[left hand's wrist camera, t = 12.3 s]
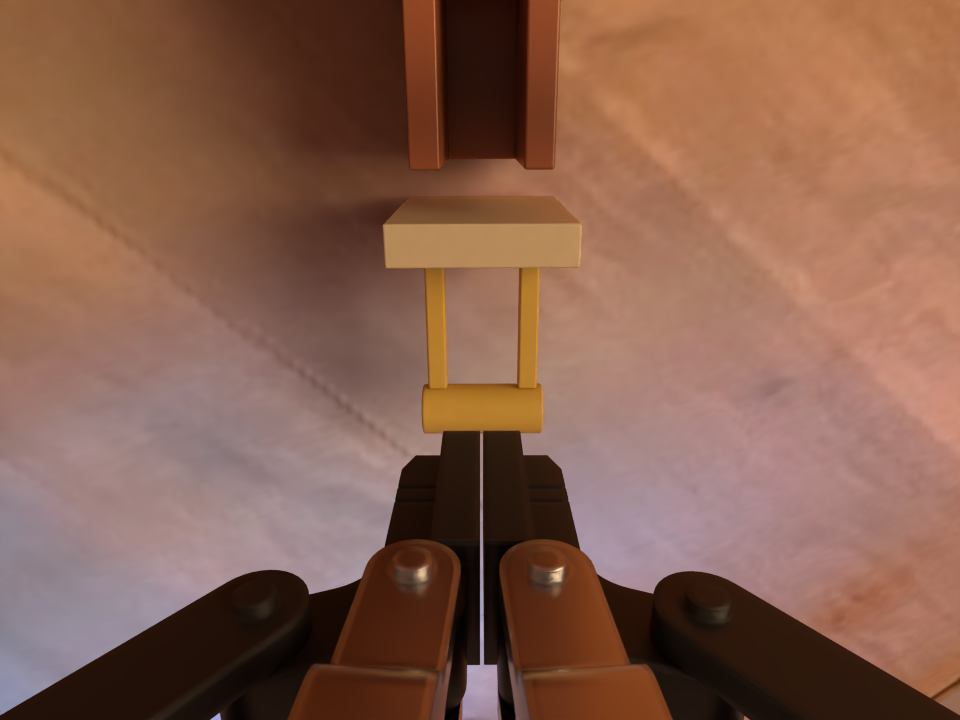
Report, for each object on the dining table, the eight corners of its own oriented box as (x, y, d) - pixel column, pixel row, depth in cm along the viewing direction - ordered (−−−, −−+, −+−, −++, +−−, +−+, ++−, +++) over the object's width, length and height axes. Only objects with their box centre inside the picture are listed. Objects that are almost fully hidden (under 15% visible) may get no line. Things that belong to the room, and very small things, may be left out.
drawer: (548, 380, 25) (569, 463, 19) (416, 380, 26) (395, 464, 19) (577, -437, 17) (632, -757, 11) (381, -436, 17) (325, -756, 11)
